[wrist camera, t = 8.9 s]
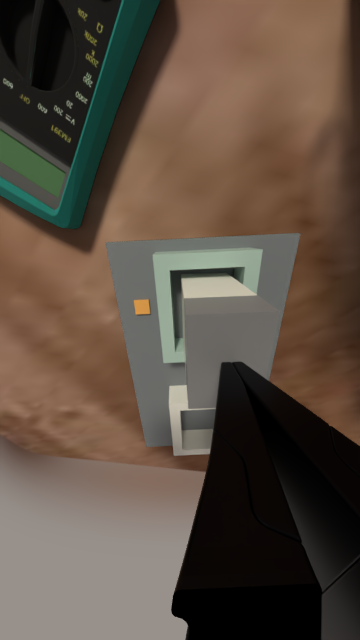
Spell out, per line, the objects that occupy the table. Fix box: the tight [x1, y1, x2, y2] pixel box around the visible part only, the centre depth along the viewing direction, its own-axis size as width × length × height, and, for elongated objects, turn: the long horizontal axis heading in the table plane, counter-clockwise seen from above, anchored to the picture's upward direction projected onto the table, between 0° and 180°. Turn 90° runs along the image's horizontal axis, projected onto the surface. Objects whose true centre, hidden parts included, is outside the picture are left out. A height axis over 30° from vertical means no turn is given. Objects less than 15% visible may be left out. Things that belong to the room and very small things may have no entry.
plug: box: [181, 273, 280, 409], centre depth 11 cm, size 4×5×8 cm
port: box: [153, 248, 263, 363], centre depth 14 cm, size 7×8×2 cm
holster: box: [169, 385, 216, 456], centre depth 19 cm, size 7×8×2 cm
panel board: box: [106, 233, 300, 447], centre depth 19 cm, size 14×24×2 cm, turn 3°
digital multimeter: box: [0, 0, 160, 229], centre depth 10 cm, size 7×15×3 cm, turn 148°
